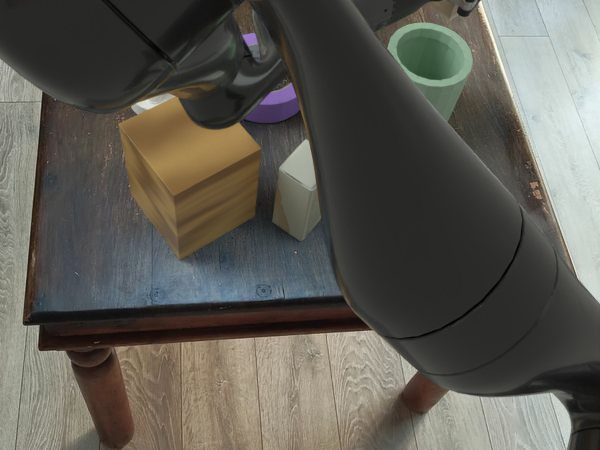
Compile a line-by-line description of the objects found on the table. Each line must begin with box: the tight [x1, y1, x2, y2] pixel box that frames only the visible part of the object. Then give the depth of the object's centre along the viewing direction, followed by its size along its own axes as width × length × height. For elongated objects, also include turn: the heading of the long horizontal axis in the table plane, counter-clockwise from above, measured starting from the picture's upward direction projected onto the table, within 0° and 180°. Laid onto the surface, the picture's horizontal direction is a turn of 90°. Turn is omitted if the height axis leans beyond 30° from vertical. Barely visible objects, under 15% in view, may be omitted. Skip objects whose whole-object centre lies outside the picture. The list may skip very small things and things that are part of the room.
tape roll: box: [242, 32, 301, 124], centre depth 88 cm, size 12×12×4 cm
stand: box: [118, 96, 262, 261], centre depth 74 cm, size 10×10×13 cm
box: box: [271, 138, 322, 242], centre depth 76 cm, size 5×4×11 cm
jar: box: [387, 22, 474, 123], centre depth 86 cm, size 10×10×10 cm
